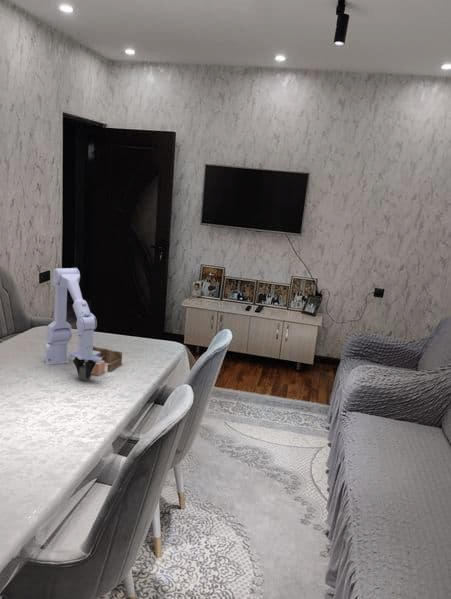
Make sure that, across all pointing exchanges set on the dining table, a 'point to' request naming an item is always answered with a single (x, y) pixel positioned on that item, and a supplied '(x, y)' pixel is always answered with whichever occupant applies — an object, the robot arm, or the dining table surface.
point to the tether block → (96, 370)
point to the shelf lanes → (110, 357)
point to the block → (95, 354)
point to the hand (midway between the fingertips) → (84, 376)
